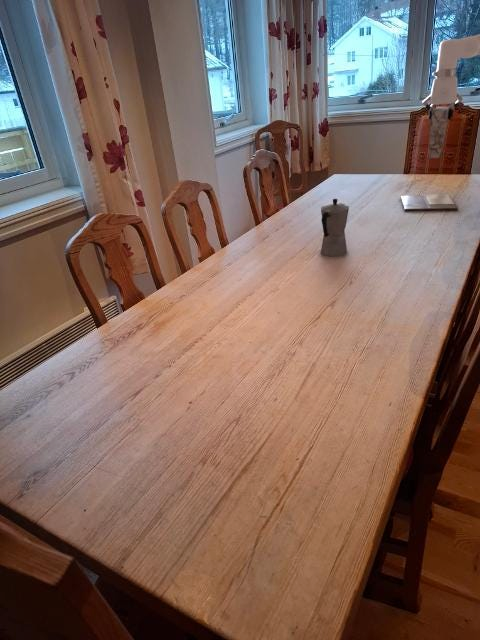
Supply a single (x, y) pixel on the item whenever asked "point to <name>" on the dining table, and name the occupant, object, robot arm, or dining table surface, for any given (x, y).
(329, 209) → the coffeepot
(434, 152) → the stone block
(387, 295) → the dining table surface
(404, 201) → the board
